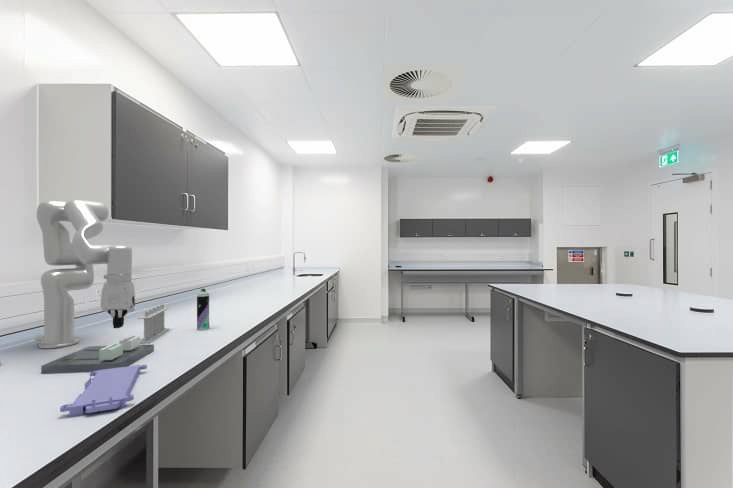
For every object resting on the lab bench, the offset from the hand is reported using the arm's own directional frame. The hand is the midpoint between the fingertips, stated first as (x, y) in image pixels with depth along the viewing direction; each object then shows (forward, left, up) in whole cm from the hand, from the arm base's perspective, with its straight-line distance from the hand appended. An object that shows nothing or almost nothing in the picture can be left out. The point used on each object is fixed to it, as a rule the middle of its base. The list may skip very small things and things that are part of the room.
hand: (118, 327), depth 132 cm
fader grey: (+4, 0, -8) cm, 9 cm away
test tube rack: (-1, +29, -11) cm, 31 cm away
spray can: (+16, +41, -11) cm, 45 cm away
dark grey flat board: (-2, -6, -11) cm, 12 cm away
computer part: (+17, -35, -11) cm, 40 cm away
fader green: (+4, -11, -8) cm, 14 cm away
